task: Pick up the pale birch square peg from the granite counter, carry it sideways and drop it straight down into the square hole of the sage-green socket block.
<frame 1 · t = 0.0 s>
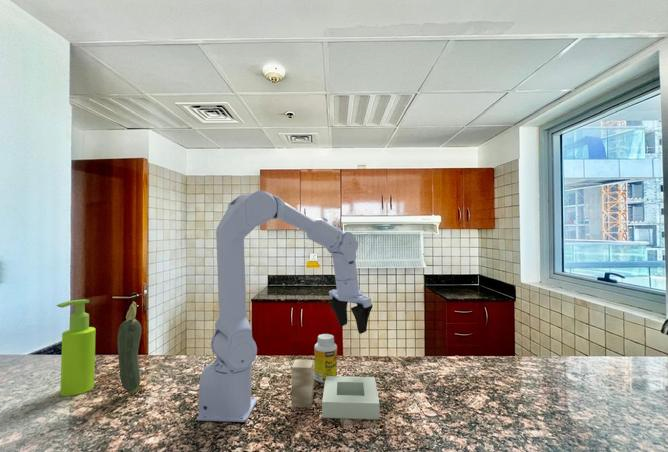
hand: (352, 328, 82), 11 cm above the countertop, tool pointing down, fingers open, 7 cm apart
peg: (302, 401, 66), on the countertop
vegetable: (128, 395, 68), on the countertop
supplement bottle: (325, 379, 76), on the countertop
soap dispenser: (75, 391, 70), on the countertop
socket block: (350, 403, 65), on the countertop
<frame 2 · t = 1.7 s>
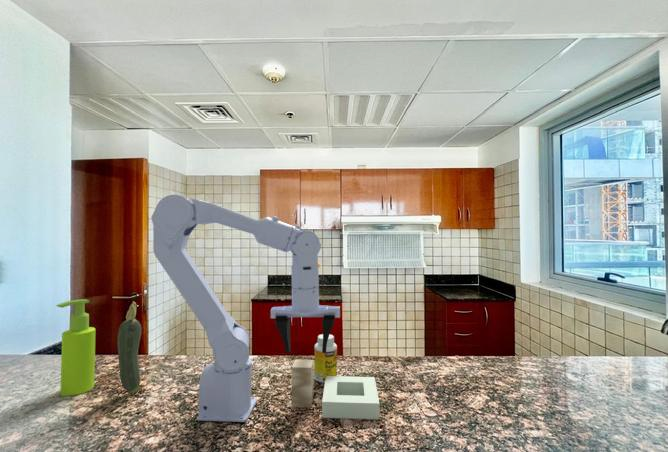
hand: (306, 351, 66), 10 cm above the countertop, tool pointing down, fingers open, 7 cm apart
nothing on the countertop moved.
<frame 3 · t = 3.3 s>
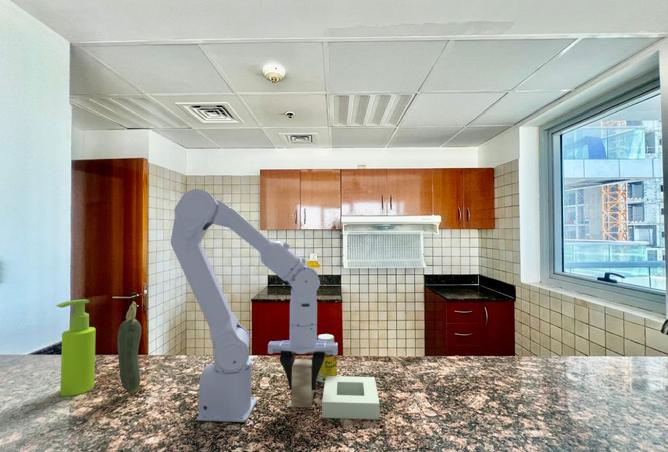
hand: (302, 387, 66), 3 cm above the countertop, tool pointing down, fingers closed on peg, 4 cm apart
peg: (302, 401, 66), on the countertop, touching gripper
everything else where it was.
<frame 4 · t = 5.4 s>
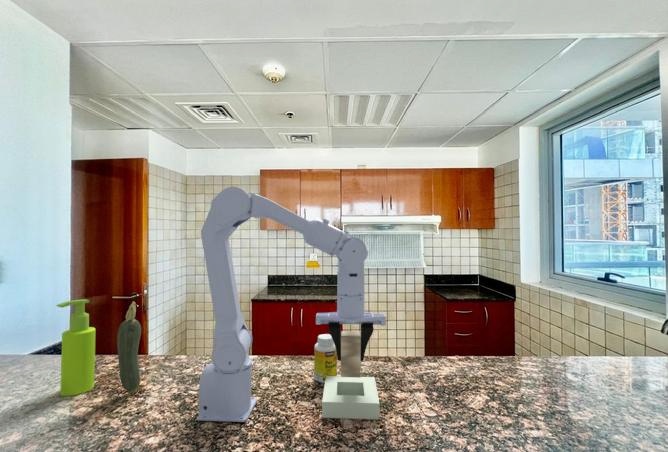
hand: (350, 358, 66), 9 cm above the countertop, tool pointing down, fingers closed on peg, 4 cm apart
peg: (350, 372, 66), point 6 cm above the countertop, touching gripper
everything else where it was.
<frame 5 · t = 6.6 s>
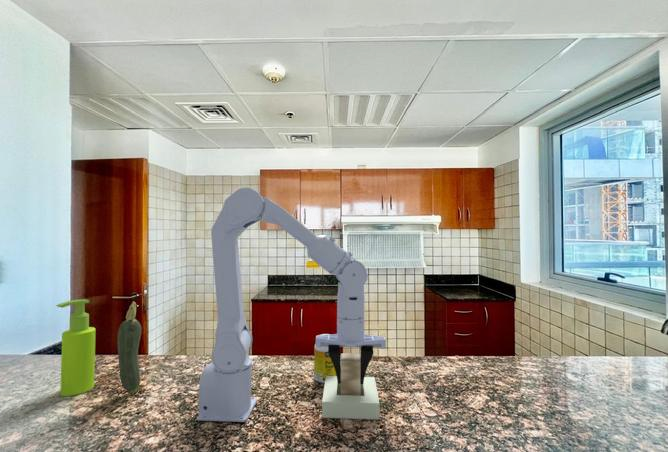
hand: (350, 381, 65), 4 cm above the countertop, tool pointing down, fingers closed on peg, 4 cm apart
peg: (350, 395, 65), point 1 cm above the countertop, touching gripper
everything else where it was.
when the fingers open (4 cm above the countertop, at t = 7.5 s): peg drops 2 cm, resting in socket block.
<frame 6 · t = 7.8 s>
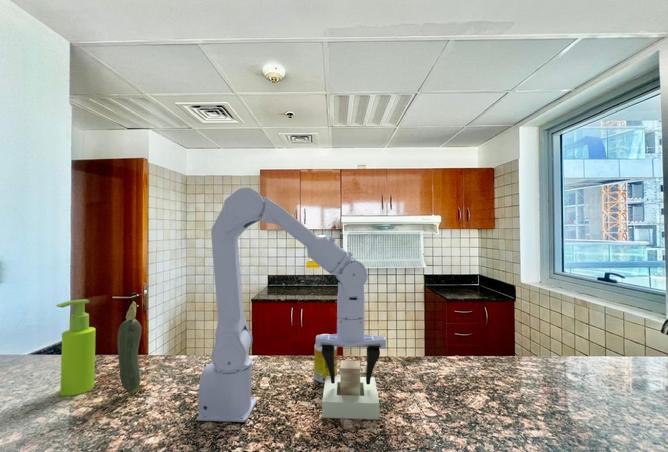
hand: (350, 381, 65), 4 cm above the countertop, tool pointing down, fingers open, 7 cm apart
peg: (350, 403, 65), resting in socket block
everything else where it was.
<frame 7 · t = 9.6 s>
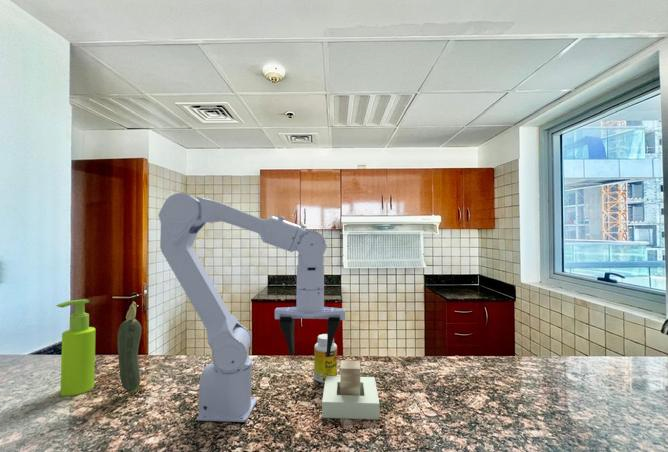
hand: (310, 353, 65), 10 cm above the countertop, tool pointing down, fingers open, 7 cm apart
nothing on the countertop moved.
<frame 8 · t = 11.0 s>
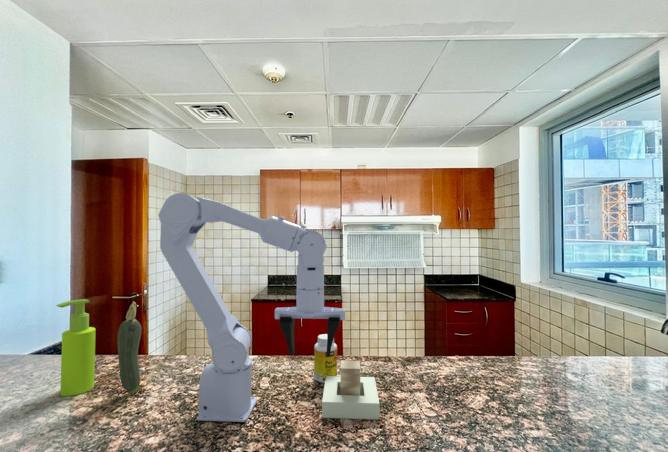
hand: (310, 353, 65), 10 cm above the countertop, tool pointing down, fingers open, 7 cm apart
nothing on the countertop moved.
at the end: peg 0.0 cm off-centre on the socket block, point 0.0 cm above the socket block's base; peg tilted 0°; the gripper is holding nothing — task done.
